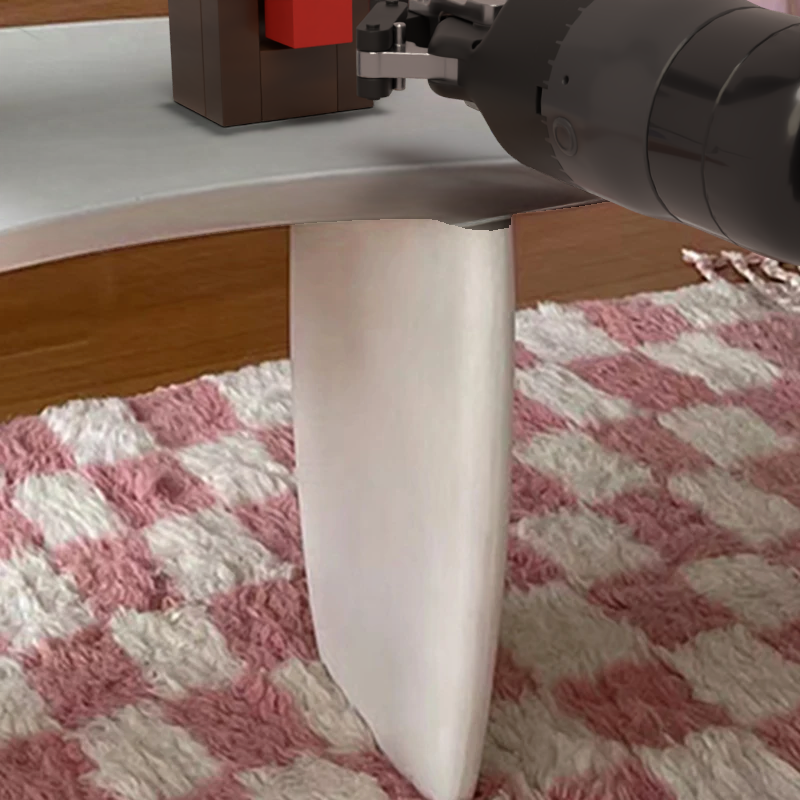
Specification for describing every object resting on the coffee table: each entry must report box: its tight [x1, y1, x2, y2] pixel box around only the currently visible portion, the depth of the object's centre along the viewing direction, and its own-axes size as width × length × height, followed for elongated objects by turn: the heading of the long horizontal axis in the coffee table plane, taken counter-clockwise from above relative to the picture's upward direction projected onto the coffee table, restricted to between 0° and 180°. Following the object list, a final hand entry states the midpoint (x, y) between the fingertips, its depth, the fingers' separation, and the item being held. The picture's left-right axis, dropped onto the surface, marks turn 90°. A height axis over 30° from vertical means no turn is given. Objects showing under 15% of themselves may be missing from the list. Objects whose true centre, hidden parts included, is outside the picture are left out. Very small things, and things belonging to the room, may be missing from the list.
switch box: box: [167, 0, 375, 127], centre depth 77 cm, size 8×6×9 cm
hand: (386, 8), depth 67 cm, fingers closed
